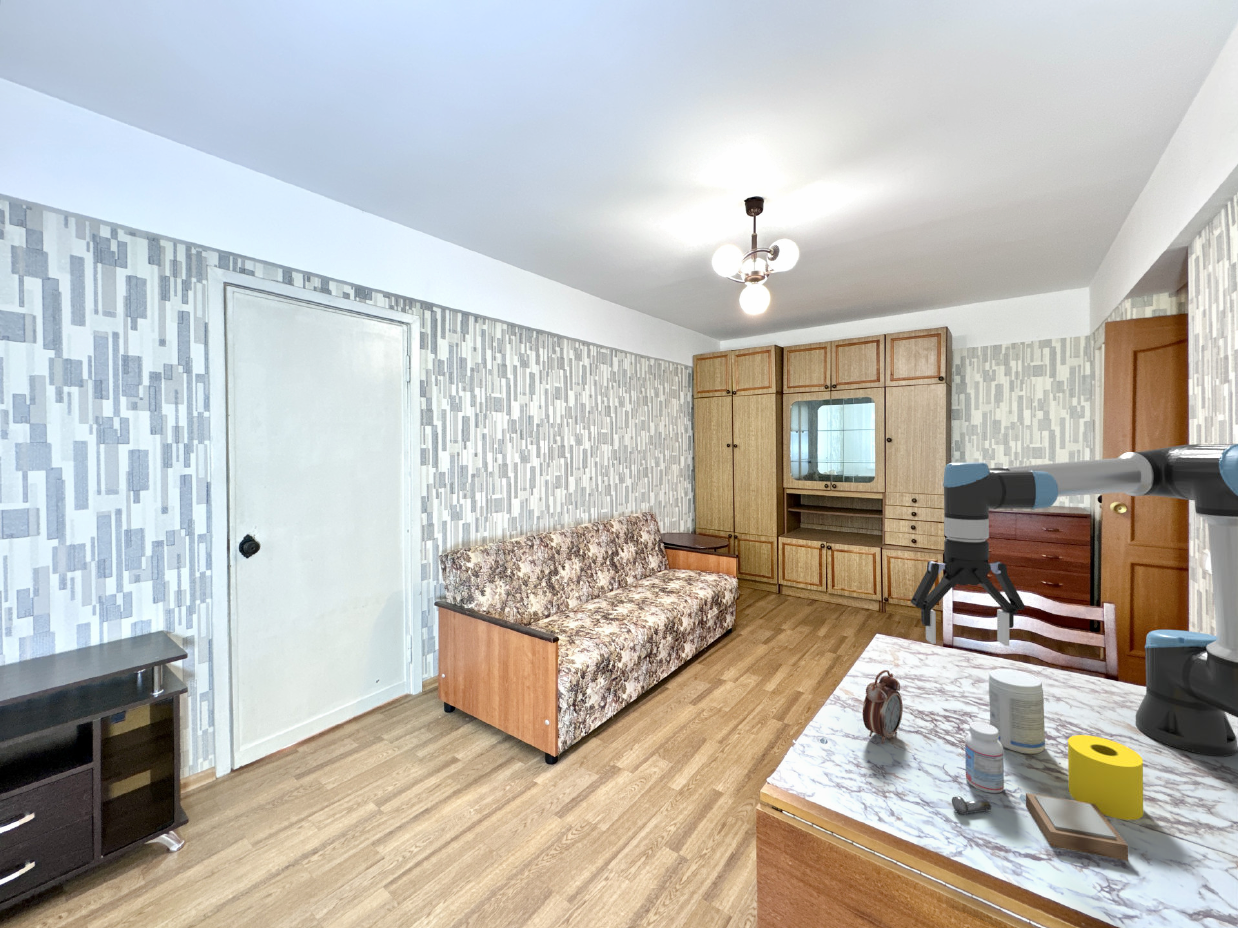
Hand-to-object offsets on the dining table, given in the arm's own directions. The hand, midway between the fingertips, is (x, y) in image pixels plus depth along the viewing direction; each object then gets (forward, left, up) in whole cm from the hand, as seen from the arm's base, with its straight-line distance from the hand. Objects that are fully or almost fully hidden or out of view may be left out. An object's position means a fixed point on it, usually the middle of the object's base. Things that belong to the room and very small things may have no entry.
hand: (966, 642), depth 105 cm
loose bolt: (+3, +14, -26) cm, 30 cm away
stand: (-11, +15, -26) cm, 32 cm away
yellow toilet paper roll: (-20, +4, -26) cm, 33 cm away
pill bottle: (-1, +5, -26) cm, 27 cm away
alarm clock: (+15, -8, -26) cm, 31 cm away
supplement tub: (-12, -13, -26) cm, 32 cm away
